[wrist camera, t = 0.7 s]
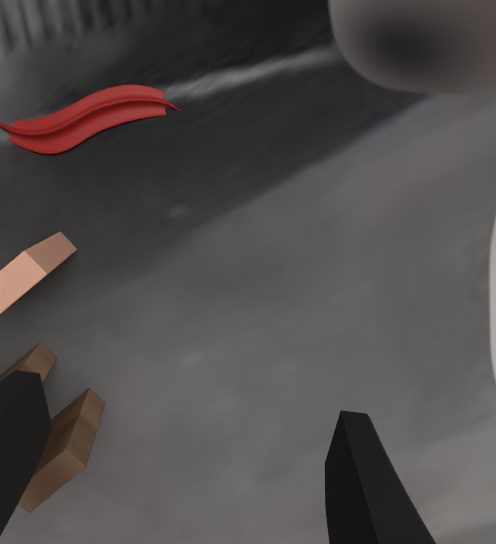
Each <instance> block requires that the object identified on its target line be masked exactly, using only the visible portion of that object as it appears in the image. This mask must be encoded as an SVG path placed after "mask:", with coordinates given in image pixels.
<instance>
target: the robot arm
mask: <svg viewBox="0 0 496 544" xmlns="http://www.w3.org/2000/svg"><path fill="white" fill-rule="evenodd" d="M51 431H52V425H51V421H50V416H49V412H48V407H47V403H46V398H45V394H44V389H43V385H42V380H41V376H40V373H35V372H27V371H19V370H14V371H13V372H12V373H10V374H9V375H8V376H7V377H5V378H4V379H3V380H1V381H0V535H1V534H2V532H3V530H4V528H5V526H6V524H7V523H8V521H9V519H10V517H11V515H12V514H13V512H14V510H15V508H16V506H17V504H18V503H19V501H20V499H21V497H22V495H23V493H24V492H25V490H26V488H27V486H28V484H29V482H30V480H31V478H32V477H33V475H34V473H35V471H36V469H37V466H38V464H39V461H40V459H41V457H42V454H43V452H44V449H45V447H46V444H47V442H48V439H49V436H50V434H51ZM325 507H326V517H327V526H328V534H329V543H330V544H436V543H435V541H434V539H433V538H432V536H431V534H430V533H429V531H428V529H427V528H426V526H425V524H424V523H423V521H422V519H421V517H420V516H419V514H418V512H417V510H416V508H415V507H414V505H413V503H412V501H411V499H410V498H409V496H408V494H407V492H406V490H405V489H404V487H403V485H402V483H401V481H400V479H399V477H398V475H397V473H396V471H395V470H394V468H393V466H392V464H391V462H390V460H389V458H388V456H387V454H386V451H385V449H384V447H383V445H382V443H381V441H380V439H379V437H378V434H377V432H376V430H375V428H374V426H373V423H372V421H371V419H370V417H369V416H368V415H367V414H365V413H357V412H349V411H340V415H339V418H338V421H337V425H336V428H335V431H334V435H333V438H332V441H331V445H330V448H329V451H328V455H327V458H326V461H325Z"/></svg>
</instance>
